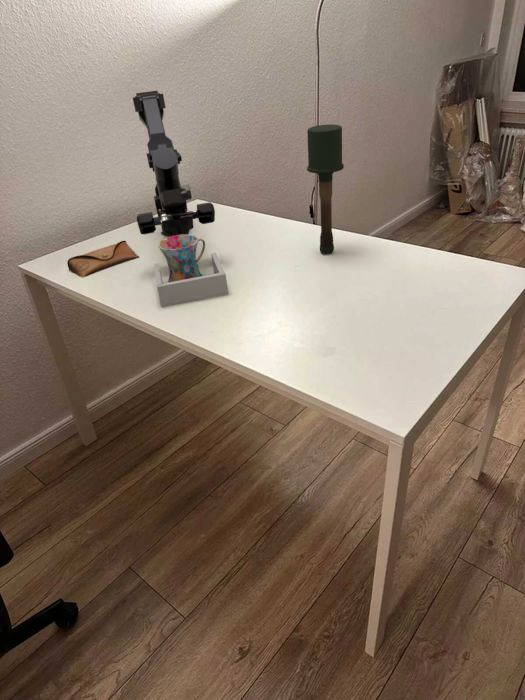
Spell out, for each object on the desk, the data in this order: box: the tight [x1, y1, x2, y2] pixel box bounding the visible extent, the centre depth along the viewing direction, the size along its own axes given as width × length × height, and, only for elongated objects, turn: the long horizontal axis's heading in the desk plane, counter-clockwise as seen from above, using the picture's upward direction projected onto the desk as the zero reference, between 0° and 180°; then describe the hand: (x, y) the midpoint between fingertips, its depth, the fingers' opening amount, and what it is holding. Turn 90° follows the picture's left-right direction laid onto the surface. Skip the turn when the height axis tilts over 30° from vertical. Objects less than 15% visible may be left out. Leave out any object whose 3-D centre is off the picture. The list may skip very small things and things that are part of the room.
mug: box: [157, 234, 206, 283], centre depth 117 cm, size 12×9×11 cm
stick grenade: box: [306, 123, 345, 255], centre depth 118 cm, size 8×9×30 cm
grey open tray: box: [153, 252, 229, 308], centre depth 115 cm, size 14×15×5 cm
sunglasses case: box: [67, 240, 140, 279], centre depth 134 cm, size 18×7×7 cm
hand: (183, 249), depth 119 cm, fingers closed
